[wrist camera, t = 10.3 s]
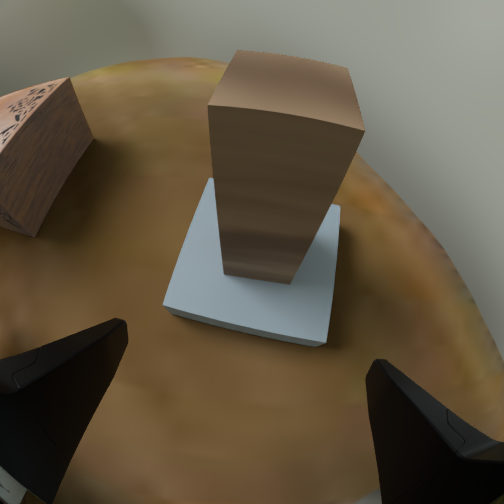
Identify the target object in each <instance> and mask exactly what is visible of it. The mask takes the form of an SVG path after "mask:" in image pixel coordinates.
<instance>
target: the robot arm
mask: <svg viewBox="0 0 504 504" xmlns="http://www.w3.org/2000/svg"><path fill="white" fill-rule="evenodd" d="M127 344H128V331H127V324H126V321H125V320H122V319H118V318H114V319H111V320H109V321H106V322H103V323H101V324H98V325H96V326H93V327H91V328H88V329H85V330H83V331H80V332H78V333H75V334H72V335H70V336H67V337H65V338H62V339H59V340H57V341H54V342H52V343H49V344H46V345H44V346H41V347H38V348H36V349H33V350H30V351H27V352H25V353H22V354H19V355H15V356H12V357H8V358H5V359H1V360H0V504H26V503H25V501H24V496H25V495H26V493H27V491H29V492H30V493H31V494H33V495H34V496H36V497H37V498H38V499H40V500H41V501H43V502H44V503H46V504H52V503H53V500H54V498H55V495H56V493H57V491H58V488H59V486H60V484H61V481H62V479H63V477H64V475H65V472H66V470H67V468H68V466H69V463H70V461H71V459H72V457H73V455H74V453H75V451H76V449H77V447H78V444H79V442H80V440H81V438H82V436H83V434H84V432H85V430H86V428H87V426H88V424H89V422H90V420H91V419H92V417H93V415H94V413H95V411H96V409H97V407H98V405H99V403H100V401H101V400H102V398H103V396H104V394H105V392H106V390H107V388H108V387H109V385H110V383H111V381H112V379H113V377H114V375H115V373H116V371H117V368H118V366H119V363H120V361H121V359H122V356H123V354H124V352H125V349H126V347H127ZM366 391H367V402H368V413H369V420H370V425H371V430H372V436H373V442H374V448H375V454H376V460H377V467H378V474H379V482H380V490H381V497H382V498H381V499H382V504H504V442H499V441H495V440H493V439H491V438H490V437H488V436H487V435H485V434H483V433H482V432H480V431H479V430H477V429H476V428H474V427H473V426H471V425H470V424H468V423H467V422H465V421H464V420H462V419H461V418H460V417H458V416H457V415H456V414H454V413H453V412H452V411H450V410H449V409H447V408H446V407H445V406H444V405H443V404H442V403H440V402H439V401H438V400H436V399H435V398H434V397H433V396H431V395H430V394H429V393H428V392H426V391H425V390H424V389H422V388H421V387H420V386H419V385H417V384H416V383H415V382H414V381H412V380H411V379H410V378H408V377H407V376H406V375H405V374H403V373H402V372H401V371H400V370H398V369H397V368H396V367H395V366H393V365H392V364H391V363H389V362H388V361H387V360H385V359H375V360H374V361H373V363H372V365H371V367H370V369H369V371H368V373H367V375H366Z"/></svg>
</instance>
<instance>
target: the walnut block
mask: <svg viewBox="0 0 504 504" xmlns="http://www.w3.org/2000/svg"><path fill="white" fill-rule="evenodd" d="M208 119H209V132H210V145H211V157H212V168H213V179H214V190H215V200H216V210H217V220H218V229H219V238H220V247H221V256H222V264H223V272H224V275H230V276H236V277H242V278H249V279H255V280H262V281H268V282H275V283H282V284H288V285H290V284H291V282H292V280H293V278H294V276H295V274H296V272H297V270H298V269H299V267H300V265H301V263H302V261H303V259H304V257H305V255H306V253H307V251H308V250H309V248H310V246H311V244H312V242H313V240H314V238H315V236H316V234H317V232H318V230H319V228H320V226H321V224H322V222H323V220H324V218H325V216H326V214H327V212H328V210H329V208H330V206H331V204H332V202H333V200H334V198H335V196H336V193H337V191H338V189H339V187H340V185H341V183H342V181H343V179H344V177H345V174H346V172H347V170H348V168H349V166H350V164H351V162H352V159H353V157H354V155H355V153H356V151H357V148H358V146H359V144H360V142H361V139H362V137H363V135H364V132H365V128H364V124H363V120H362V116H361V112H360V108H359V105H358V101H357V98H356V94H355V90H354V87H353V84H352V80H351V77H350V74H349V71H348V68H345V67H341V66H337V65H333V64H329V63H324V62H320V61H314V60H310V59H305V58H299V57H293V56H287V55H280V54H272V53H264V52H254V51H242V50H237V52H236V53H235V55H234V57H233V59H232V60H231V62H230V64H229V66H228V67H227V69H226V71H225V73H224V75H223V76H222V78H221V80H220V82H219V84H218V86H217V88H216V89H215V91H214V93H213V95H212V97H211V99H210V101H209V103H208Z"/></svg>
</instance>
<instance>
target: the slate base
mask: <svg viewBox="0 0 504 504" xmlns="http://www.w3.org/2000/svg"><path fill="white" fill-rule="evenodd" d="M339 221H340V206H337V205H333V204H331V206H330V208H329V210H328V212H327V214H326V216H325V218H324V220H323V222H322V224H321V226H320V228H319V230H318V232H317V234H316V236H315V238H314V240H313V242H312V244H311V246H310V248H309V250H308V251H307V253H306V255H305V257H304V259H303V261H302V263H301V265H300V267H299V269H298V270H297V272H296V274H295V276H294V278H293V280H292V282H291V284H290V285H288V284H282V283H275V282H268V281H262V280H255V279H249V278H242V277H236V276H230V275H224V272H223V264H222V256H221V247H220V238H219V229H218V220H217V210H216V200H215V190H214V179H213V178H209V180H208V183H207V185H206V187H205V190H204V192H203V195H202V197H201V200H200V202H199V205H198V207H197V210H196V212H195V215H194V218H193V220H192V223H191V225H190V228H189V231H188V233H187V236H186V239H185V241H184V244H183V247H182V249H181V252H180V255H179V258H178V261H177V263H176V266H175V269H174V272H173V275H172V278H171V281H170V284H169V287H168V290H167V293H166V296H165V299H164V302H163V306H164V307H165V308H166V309H167V310H168V311H169V312H170V313H171V314H174V315H178V316H181V317H185V318H189V319H192V320H196V321H200V322H203V323H207V324H211V325H215V326H219V327H223V328H227V329H231V330H235V331H239V332H244V333H248V334H252V335H257V336H262V337H266V338H271V339H276V340H281V341H286V342H291V343H296V344H302V345H307V346H313V347H317V346H319V345H322V344H324V343H326V340H327V334H328V327H329V321H330V313H331V306H332V298H333V290H334V281H335V271H336V261H337V249H338V236H339Z"/></svg>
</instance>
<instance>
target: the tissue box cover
mask: <svg viewBox="0 0 504 504" xmlns="http://www.w3.org/2000/svg"><path fill="white" fill-rule="evenodd" d="M93 140H94V137H93V134H92V132H91V130H90V128H89V125H88V123H87V121H86V118H85V116H84V113H83V111H82V109H81V106H80V104H79V101H78V99H77V96H76V93H75V91H74V88H73V86H72V83H71V80H70V78H69V77H67V78H62V79H58V80H53V81H50V82H46V83H42V84H38V85H35V86H31V87H28V88H25V89H22V90H19V91H16V92H13V93H10V94H7V95H4V96H2V97H0V227H3V228H6V229H9V230H12V231H15V232H18V233H21V234H24V235H28V236H31V237H34V238H35V237H36V234H37V232H38V230H39V228H40V226H41V224H42V222H43V220H44V218H45V216H46V214H47V212H48V211H49V209H50V207H51V205H52V203H53V201H54V200H55V198H56V196H57V194H58V193H59V191H60V189H61V188H62V186H63V184H64V183H65V181H66V179H67V178H68V176H69V175H70V173H71V171H72V170H73V168H74V167H75V165H76V164H77V162H78V161H79V159H80V158H81V156H82V155H83V153H84V152H85V151H86V149H87V148H88V146H89V145H90V144H91V142H92V141H93Z"/></svg>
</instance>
